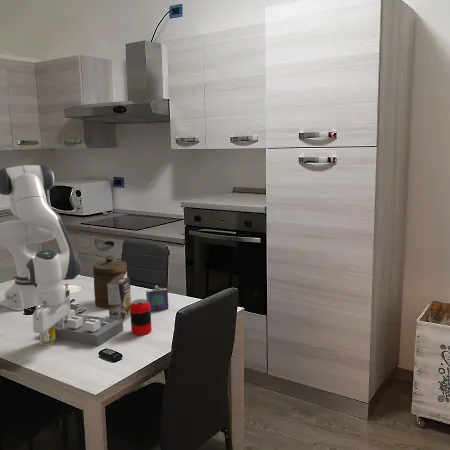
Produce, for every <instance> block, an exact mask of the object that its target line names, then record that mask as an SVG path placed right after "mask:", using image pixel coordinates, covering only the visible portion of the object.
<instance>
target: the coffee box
mask: <svg viewBox="0 0 450 450" xmlns="http://www.w3.org/2000/svg"><path fill="white" fill-rule="evenodd" d="M107 285H108V303H109V309H108V314H109V315H108V317H109V318H108V319H113V320H119V321H123V323H124V322H126V321H127V320H128V319H129V318H131V314H130V305H131V304H132V294H131V293H132V291H131V279H130V277H127V278H115V279H114V280H112V281H111V282H109V283H108V284H107Z"/></svg>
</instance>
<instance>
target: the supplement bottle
mask: <svg viewBox="0 0 450 450" xmlns="http://www.w3.org/2000/svg"><path fill="white" fill-rule="evenodd" d="M48 334H49V335H51V339H50V340H49V341H44V336H43V335H42V334H41V333H39V340H40V341H39V342H40V344H41V345H42V346H50V345H53V344H55V343H56V342H57V338H56V334H55V324H54V325H53V326H52V327H51V328H49V332H48Z"/></svg>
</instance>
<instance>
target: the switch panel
mask: <svg viewBox="0 0 450 450" xmlns="http://www.w3.org/2000/svg"><path fill="white" fill-rule="evenodd" d="M75 316H78V317H83V325H82V326H80V327H78V328H77V329H75V328H69V327H68V326H67V321H65V320H64V324H63V326H64V328H63V329H62V330H57V325H58V322H57V323H56V324H55V334H56V340H62V341H69V342H74V343H79V344H84V345H89V346H94V347H100V346H102V345H103V344H105V343H107V342H108V341H110V340H111V339H113V338H115V337H116V336H118V335H119V334H121V333H122V332H124V322H123V321H119V320H113V319H110V318H105V317H99V316H93V315H87V314H80V313H75ZM90 319H97V320H100V326H101V328H99V329H98V330H96V331H94V332H92V331H86V330H85V326H84V322H86V321H88V320H90Z"/></svg>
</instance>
